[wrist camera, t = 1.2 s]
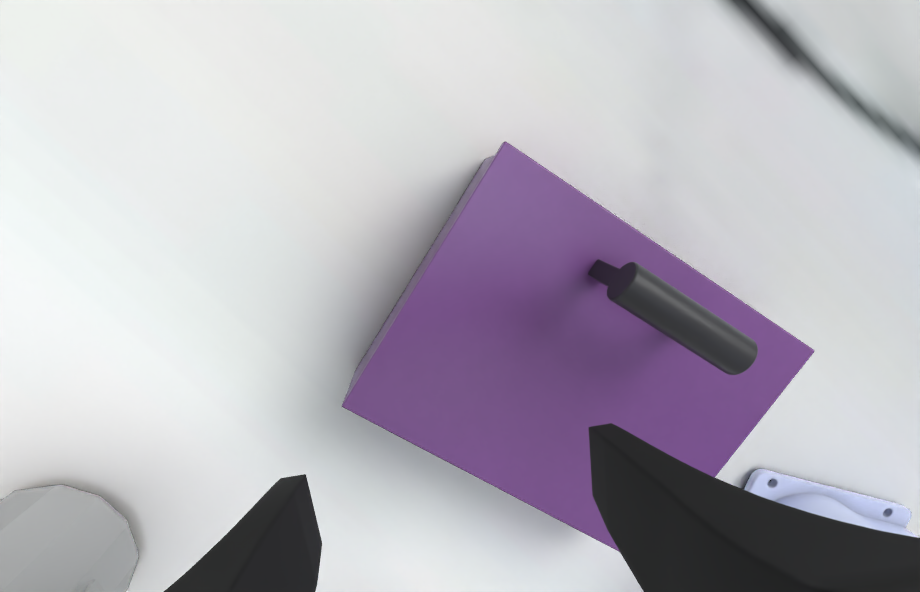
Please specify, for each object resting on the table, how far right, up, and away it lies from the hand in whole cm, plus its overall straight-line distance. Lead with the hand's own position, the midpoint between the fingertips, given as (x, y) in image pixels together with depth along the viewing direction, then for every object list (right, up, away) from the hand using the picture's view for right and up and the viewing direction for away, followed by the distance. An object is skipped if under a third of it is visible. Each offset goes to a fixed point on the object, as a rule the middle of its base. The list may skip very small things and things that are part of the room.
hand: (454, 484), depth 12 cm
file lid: (+5, +2, +8) cm, 9 cm away
